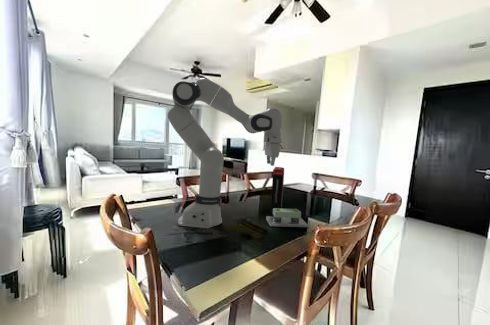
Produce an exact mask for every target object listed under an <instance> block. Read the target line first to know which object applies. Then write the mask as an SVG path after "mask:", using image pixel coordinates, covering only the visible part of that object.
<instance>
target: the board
mask: <svg viewBox="0 0 490 325" xmlns="http://www.w3.org/2000/svg"><path fill="white" fill-rule="evenodd" d="M295 209H297V211H295ZM273 215H274V216H275V217H281V218H302V212H301V210H299V209H298V208H282V209H279V211H277V208H273V213H272V216H273Z"/></svg>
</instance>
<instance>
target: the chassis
mask: <svg viewBox="0 0 490 325" xmlns="http://www.w3.org/2000/svg"><path fill="white" fill-rule="evenodd" d="M294 209H295V211H297V209H298V208H294ZM277 211H279V208H277ZM265 218H266V221H267V223H268V225H269V227H278V228H279V227H284V228H285V227H286V228H287V227H288V228H290V227H291V228H294V227H295V228H308V223H307V222H306V221H305V220H304V219H303V218H302V217H301V218H281V217H275V216H274V215H273V214H272V216H269V215H266V217H265Z"/></svg>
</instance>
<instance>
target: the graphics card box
mask: <svg viewBox="0 0 490 325" xmlns="http://www.w3.org/2000/svg"><path fill="white" fill-rule="evenodd" d="M284 179H285V167H283V166H275V167H274V168H273V169H272V180H271V181H272V184H271V202H270V213H272V214H273V208H279V209H283V197H284V181H285V180H284Z"/></svg>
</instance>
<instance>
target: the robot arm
mask: <svg viewBox="0 0 490 325" xmlns="http://www.w3.org/2000/svg"><path fill="white" fill-rule="evenodd" d="M172 100H173V104H174V106H173V107H171V108H170V110H169V111H168V113H167V119H168V121H169V123H170V125H171V126H172V128H173V129H174V130H175V132H176V133H177V135H178V136H179V137H180V138H181V139H182V141H183V142H184V143H185V144H186V146H187V147H188V148H189V149H190V150H191V151H192V153H193V154H194V155H195V156H196V157H197V158H198V159H199V161H200V165H199V167H200V169H199V182H198V183H199V187H198V190H199V191H198V193H195V194H194V201H193V202H192V203H191V204H189V205H188V206H186V207H185V209H184V211H183V213H182V215H181V216H180V217H179V218H178V220H177V225H178V226H181V227H191V228H198V229H199V228H200V229H210V228H212V227H215V226H218V225H220V224H222V223H223V219H222V214H221V206H222V195H221V190H222V179H223V178H222V177H223V172H224V171H223V170H224V162H225V161H224V160H225V159H224V154H223V152H222V150H220V149H218V148H217V146H216V145H215V144H214V142H213V141H212V140H211V138H210V137H209V135H208V134H207V133H206V131H205V130H204V128H203V127H202V126H201V125H200V124H199V122H198V121H197V119H195V117H194V116H193V114H192V113H191V109H192V108H193V107H194V104H195V103H196V102H199V101H200V102H203V103H205V104H207V106H210V107H211V108H212V109H215V110H217V111H219V112H221V113H223V114H226V115H228V116H229V117H230V118H233V119H234V120H235V121H237V122H238V123H240V124H241V125H242V126H243V127H244V129H245V130H246V132H248V133H250V134H256V133H261V132H264V136H263V143H265V147H264V155H265V156H266V164H269V165H270V166H272V167H273V166H275V162H276V158H277V159H278V158H279V155H280V151H281V144H282V143H283V142H282V140H283V139H282V136H281V135H282V134H281V129H282V123H283V122H282V121H283V120H282V118H283V116H282V112H281V110H278V109H276V108H267V109H266V110H264V111H262V112H259V113H256V114H255V113H254V114H253V115H251V114H248V113H246V112H245V111H244V110H242V109H241V108H240V107H238V106H237V105H236V103H235V102H234V98H233V96H232V94H231V93H230V92H229V91H228V90H227V89H225V87H223V86H221V85H220V84H218V83H216V82H214V81H212V80H210V79H207V78H205V77H201V78H199V79H197V81H196V82H195V81H186V80H183V81H182V80H181V81H178V82H177V83H176V84H175V85H174V86H173V88H172Z"/></svg>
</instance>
